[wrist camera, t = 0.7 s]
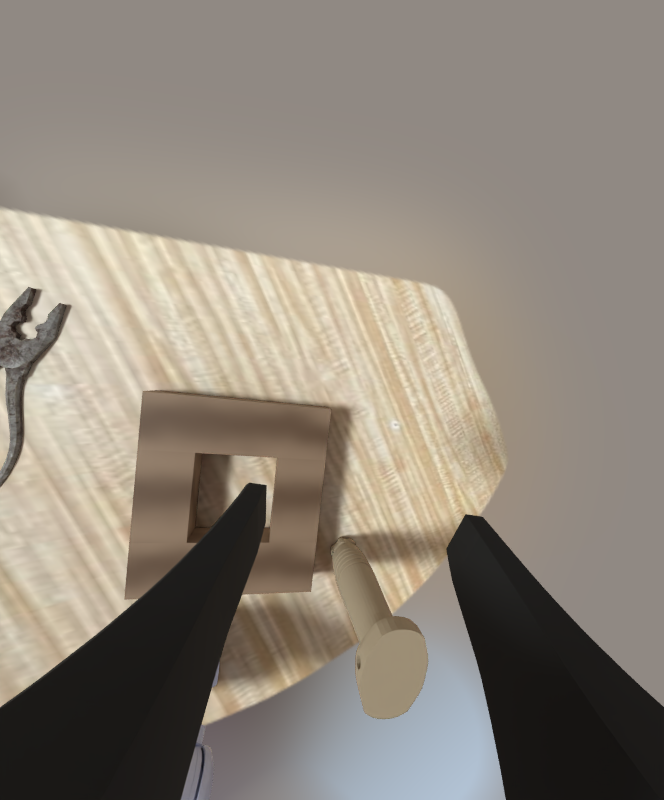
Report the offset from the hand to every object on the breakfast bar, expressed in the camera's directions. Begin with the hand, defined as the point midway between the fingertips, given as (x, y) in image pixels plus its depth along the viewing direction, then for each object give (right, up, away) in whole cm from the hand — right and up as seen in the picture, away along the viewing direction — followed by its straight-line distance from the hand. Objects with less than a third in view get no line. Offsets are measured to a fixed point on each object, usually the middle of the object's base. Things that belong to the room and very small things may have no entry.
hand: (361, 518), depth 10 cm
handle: (0, -14, +24) cm, 28 cm away
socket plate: (-12, -6, +21) cm, 24 cm away
